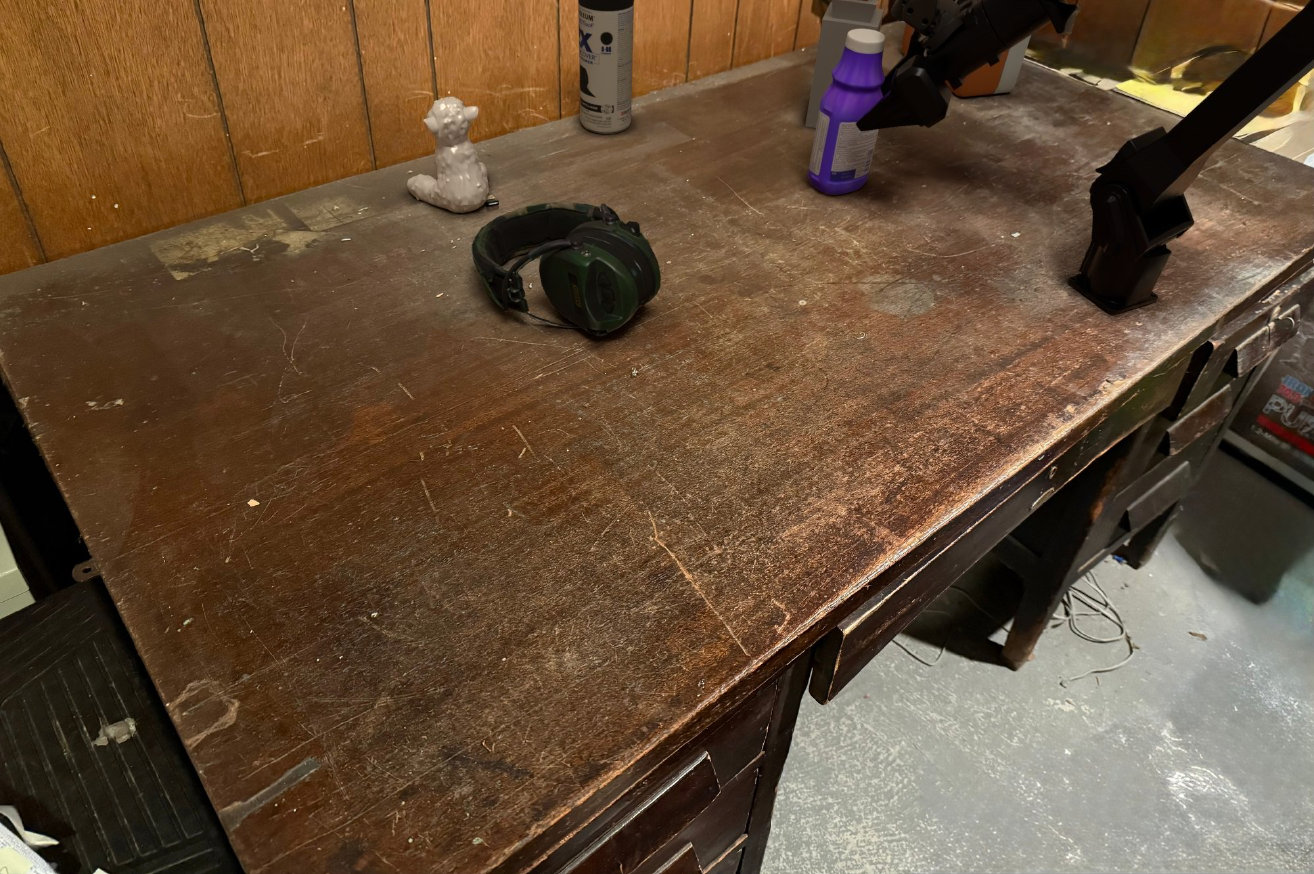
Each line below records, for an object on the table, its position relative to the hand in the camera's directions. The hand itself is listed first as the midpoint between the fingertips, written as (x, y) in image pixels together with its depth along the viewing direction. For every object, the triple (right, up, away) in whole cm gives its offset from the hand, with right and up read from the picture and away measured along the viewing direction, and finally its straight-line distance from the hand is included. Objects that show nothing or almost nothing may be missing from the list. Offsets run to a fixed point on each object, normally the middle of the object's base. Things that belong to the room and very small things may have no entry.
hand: (865, 111), depth 99 cm
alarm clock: (+21, +18, +33) cm, 43 cm away
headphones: (-32, -23, -11) cm, 41 cm away
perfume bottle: (0, +6, +20) cm, 21 cm away
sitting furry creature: (-46, -10, +1) cm, 47 cm away
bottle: (-2, -6, +7) cm, 10 cm away
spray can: (-30, +4, +17) cm, 35 cm away
